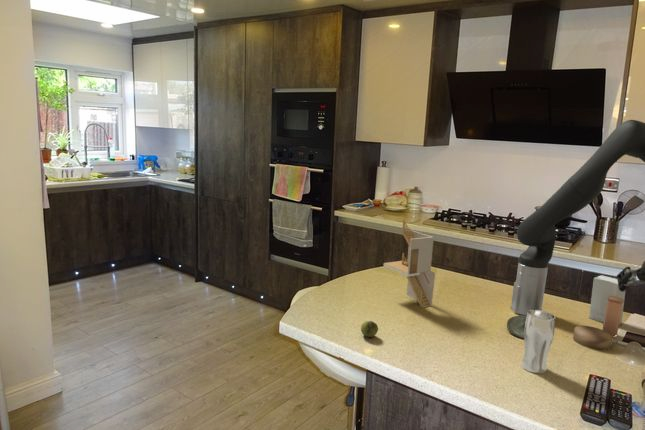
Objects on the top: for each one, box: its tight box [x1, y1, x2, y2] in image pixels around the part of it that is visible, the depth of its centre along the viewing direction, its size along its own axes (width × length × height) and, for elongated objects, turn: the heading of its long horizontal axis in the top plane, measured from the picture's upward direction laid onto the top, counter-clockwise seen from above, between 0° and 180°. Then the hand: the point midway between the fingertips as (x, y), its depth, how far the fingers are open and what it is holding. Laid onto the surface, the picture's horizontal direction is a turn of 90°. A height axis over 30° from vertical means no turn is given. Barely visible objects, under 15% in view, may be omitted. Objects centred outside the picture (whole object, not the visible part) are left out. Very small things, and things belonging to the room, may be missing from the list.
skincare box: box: [588, 274, 627, 325], centre depth 154 cm, size 8×6×15 cm
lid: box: [506, 314, 527, 340], centre depth 142 cm, size 11×10×5 cm
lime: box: [360, 320, 379, 338], centre depth 134 cm, size 4×5×5 cm
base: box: [572, 325, 614, 351], centre depth 138 cm, size 10×10×3 cm
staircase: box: [383, 219, 436, 308], centre depth 163 cm, size 10×16×29 cm, turn 30°
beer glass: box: [520, 309, 556, 374], centre depth 119 cm, size 7×7×15 cm
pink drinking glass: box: [602, 296, 625, 336], centre depth 144 cm, size 4×4×12 cm
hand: (637, 290), depth 130 cm, fingers open, 8 cm apart
